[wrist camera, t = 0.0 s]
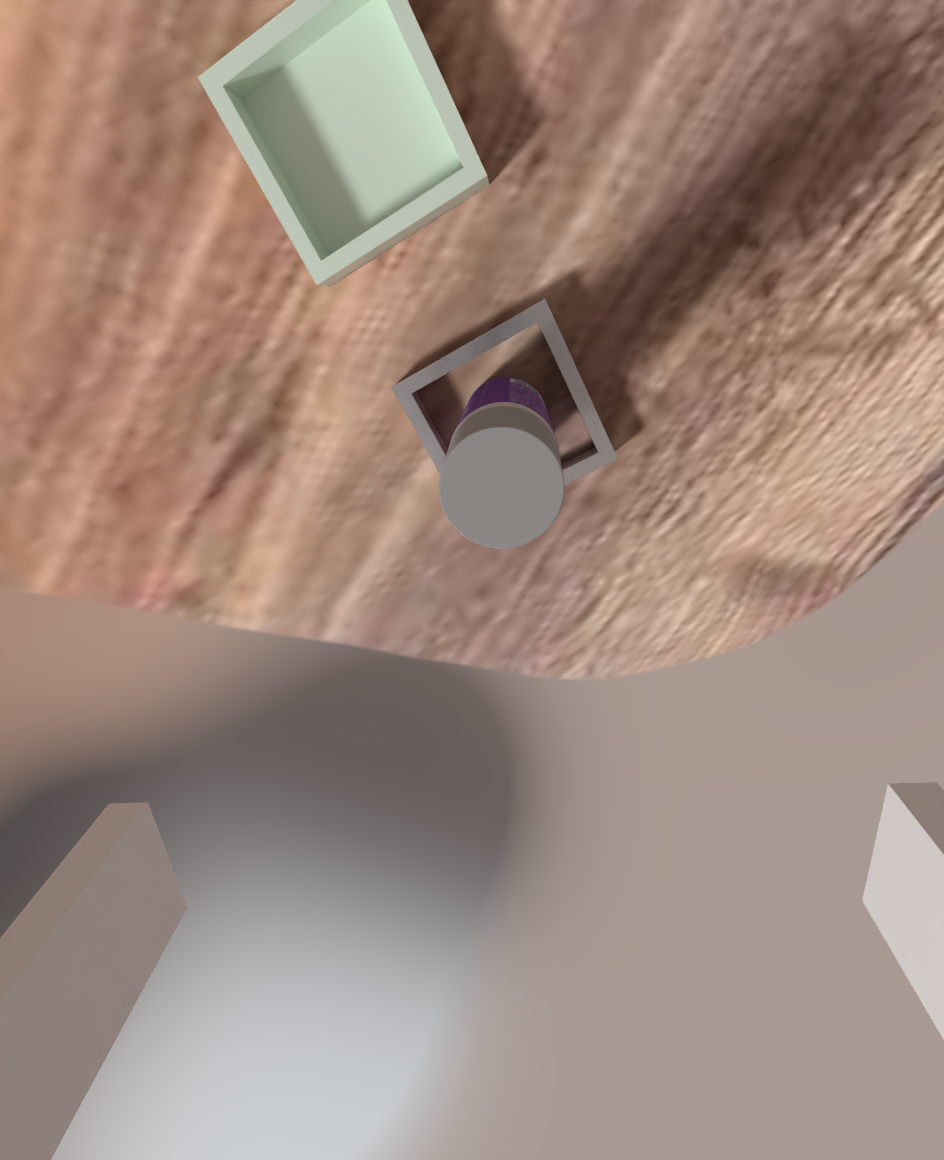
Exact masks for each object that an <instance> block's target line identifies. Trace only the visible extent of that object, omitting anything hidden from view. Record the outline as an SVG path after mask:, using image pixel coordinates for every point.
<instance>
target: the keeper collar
mask: <svg viewBox="0 0 944 1160" xmlns="http://www.w3.org/2000/svg"><path fill="white" fill-rule="evenodd" d="M537 322H538V324H539V327H540V329H541V331H542V333H543V335H544V337H545V340H546V342H547V344H548V346H549V348H550V350H551V352H552V355H553V357H554V359H555V361H556V363H557V365H558V368H559V370H560V372H561V374H562V376H563V378H564V381H565V383H566V385H567V387H568V389H569V391H570V393H571V396H572V398H573V400H574V402H575V404H576V406H577V409H578V411H579V413H580V415H581V417H582V419H583V421H584V424H585V426H586V428H587V430H588V432H589V434H590V437H591V439H592V441H593V443H594V445H595V447H594V448H592V449H590V450H588V451H586V452H584V453H582V454H580V455H578V456H576V457H574V458H572V459H570V460H568V461H566V462H564V463H562V464H561V465H562V471H563V476H564V485H565V484H567V483H569V482H571V481H573V480H575V479H577V478H579V477H582V476H584V475H586V474H588V473H590V472H592V471H594V470H596V469H598V468H600V467H602V466H604V465H606V464H608V463H610V462H612V461H614V460H616V459H618V458H617V456H616V454H615V451H614V449H613V447H612V445H611V443H610V440H609V438H608V436H607V434H606V431H605V429H604V427H603V425H602V423H601V420H600V418H599V416H598V414H597V412H596V409H595V407H594V405H593V403H592V401H591V398H590V396H589V394H588V392H587V390H586V387H585V385H584V383H583V381H582V379H581V376H580V374H579V372H578V370H577V368H576V365H575V363H574V361H573V359H572V357H571V354H570V352H569V350H568V348H567V346H566V343H565V341H564V339H563V337H562V335H561V332H560V330H559V328H558V326H557V324H556V321H555V319H554V317H553V315H552V312H551V310H550V308H549V306H548V304H547V301H546V299H543V300H541V301H539V302H537V303H536V304H534V305H532V306H531V307H529V308H527V309H525V310H524V311H522V312H520V313H518V314H517V315H515V316H513V317H511V318H510V319H508V320H506V321H504V322H503V323H501V324H499V325H498V326H496V327H494V328H492V329H491V330H489V331H487V332H485V333H484V334H482V335H480V336H478V337H477V338H475V339H473V340H471V341H470V342H468V343H466V344H465V345H463V346H461V347H459V348H458V349H456V350H454V351H452V352H451V353H449V354H447V355H445V356H444V357H442V358H440V359H439V360H437V361H435V362H433V363H432V364H430V365H428V366H426V367H425V368H423V369H421V370H419V371H418V372H416V373H414V374H412V375H411V376H409V377H407V378H406V379H404V380H402V381H400V382H399V383H397V384H395V385H394V386H392V387H391V388H392V390H393V391H394V393H395V395H396V397H397V399H398V400H399V402H400V404H401V406H402V407H403V409H404V411H405V413H406V415H407V416H408V418H409V420H410V422H411V423H412V425H413V427H414V429H415V430H416V432H417V434H418V436H419V438H420V439H421V441H422V443H423V445H424V446H425V448H426V450H427V452H428V454H429V455H430V457H431V459H432V461H433V462H434V464H435V466H436V468H437V470H438V471H439V473H440V474H441V470H442V467H443V464H444V460H445V457H446V454H447V451H448V449H447V447H446V445H445V443H444V441H443V440H442V438H441V436H440V434H439V432H438V431H437V429H436V427H435V425H434V423H433V421H432V420H431V418H430V416H429V414H428V412H427V411H426V409H425V407H424V405H423V403H422V402H421V400H420V398H419V396H418V394H417V392H416V391H417V390H419V389H420V388H422V387H424V386H426V385H427V384H429V383H431V382H433V381H434V380H436V379H438V378H440V377H441V376H443V375H445V374H447V373H448V372H450V371H452V370H454V369H456V368H457V367H459V366H461V365H463V364H464V363H466V362H468V361H470V360H471V359H473V358H475V357H477V356H478V355H480V354H482V353H484V352H485V351H487V350H489V349H491V348H492V347H494V346H496V345H498V344H500V343H501V342H503V341H505V340H507V339H508V338H510V337H512V336H514V335H515V334H517V333H519V332H521V331H522V330H524V329H526V328H528V327H529V326H531V325H533V324H535V323H537Z"/></svg>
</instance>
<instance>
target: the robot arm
mask: <svg viewBox="0 0 944 1160" xmlns="http://www.w3.org/2000/svg"><path fill="white" fill-rule="evenodd" d="M863 903H864V904H865V906H866V908H867V909H868V911H869V913H870V915H871V916H872V918H873V919H874V921H875V923H876V925H877V926H878V928H879V930H880V932H881V933H882V935H883V937H884V939H885V940H886V942H887V944H888V945H889V947H890V949H891V950H892V952H893V954H894V956H895V957H896V959H897V961H898V962H899V964H900V966H901V967H902V969H903V971H904V973H905V974H906V976H907V978H908V980H909V981H910V983H911V984H912V986H913V988H914V990H915V991H916V993H917V995H918V996H919V998H920V1000H921V1002H922V1004H923V1005H924V1007H925V1009H926V1010H927V1012H928V1014H929V1015H930V1017H931V1019H932V1021H933V1022H934V1024H935V1026H936V1027H937V1029H938V1031H939V1033H940V1034H941V1036H942V1038H943V1039H944V790H943V789H942V788H941V787H940V786H939V785H938V783H935V782H933V783H897V784H896V783H894V784H888V787H887V791H886V796H885V800H884V805H883V809H882V815H881V819H880V823H879V828H878V833H877V837H876V841H875V846H874V850H873V855H872V859H871V864H870V869H869V874H868V878H867V883H866V887H865V891H864V896H863ZM186 908H187V906H186V903H185V900H184V898H183V895H182V892H181V890H180V887H179V884H178V882H177V879H176V876H175V874H174V871H173V868H172V866H171V863H170V860H169V858H168V855H167V853H166V850H165V847H164V845H163V842H162V839H161V837H160V834H159V831H158V829H157V826H156V823H155V820H154V818H153V815H152V813H151V810H150V807H149V804H148V803H120V804H119V803H117V804H109V805H108V806H107V807H106V808H105V809H104V811H103V812H102V813H101V814H100V816H99V817H98V818H97V819H96V821H95V822H94V823H93V824H92V826H91V827H90V828H89V829H88V830H87V832H86V833H85V834H84V835H83V837H82V838H81V839H80V840H79V842H78V843H77V844H76V845H75V847H74V848H73V849H72V850H71V852H70V853H69V854H68V855H67V856H66V858H65V859H64V860H63V861H62V863H61V864H60V865H59V866H58V868H57V869H56V870H55V871H54V873H53V874H52V875H51V876H50V877H49V879H48V880H47V881H46V882H45V884H44V885H43V886H42V887H41V889H40V890H39V891H38V892H37V894H36V895H35V896H34V897H33V898H32V900H31V901H30V902H29V903H28V905H27V906H26V907H25V909H24V910H23V911H22V912H21V913H20V915H19V916H18V917H17V918H16V920H15V921H14V922H13V923H12V924H11V926H10V927H9V928H8V929H7V931H6V932H5V933H4V935H3V936H2V937H1V938H0V1160H51V1158H52V1156H53V1154H54V1152H55V1151H56V1149H57V1147H58V1145H59V1143H60V1141H61V1139H62V1138H63V1136H64V1134H65V1132H66V1130H67V1128H68V1127H69V1124H70V1123H71V1121H72V1119H73V1117H74V1115H75V1114H76V1112H77V1110H78V1108H79V1106H80V1104H81V1102H82V1100H83V1099H84V1097H85V1095H86V1093H87V1091H88V1090H89V1087H90V1086H91V1084H92V1082H93V1080H94V1078H95V1077H96V1075H97V1073H98V1071H99V1069H100V1067H101V1066H102V1064H103V1062H104V1060H105V1058H106V1056H107V1055H108V1053H109V1051H110V1049H111V1047H112V1045H113V1043H114V1042H115V1040H116V1038H117V1036H118V1034H119V1032H120V1030H121V1029H122V1027H123V1025H124V1023H125V1021H126V1019H127V1018H128V1016H129V1014H130V1012H131V1010H132V1008H133V1006H134V1004H135V1003H136V1001H137V999H138V997H139V995H140V993H141V992H142V990H143V988H144V986H145V984H146V982H147V981H148V978H149V977H150V975H151V973H152V971H153V969H154V968H155V966H156V964H157V962H158V960H159V958H160V957H161V954H162V953H163V951H164V949H165V947H166V945H167V944H168V942H169V940H170V938H171V936H172V934H173V932H174V931H175V929H176V927H177V925H178V923H179V921H180V920H181V918H182V916H183V914H184V912H185V910H186Z"/></svg>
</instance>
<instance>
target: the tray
mask: <svg viewBox="0 0 944 1160" xmlns="http://www.w3.org/2000/svg"><path fill="white" fill-rule="evenodd" d="M198 79H199V80H200V82H201V84H202V86H203V87H204V89H205V91H206V93H207V94H208V96H209V98H210V100H211V101H212V103H213V105H214V107H215V108H216V110H217V112H218V114H219V115H220V117H221V119H222V121H223V122H224V124H225V126H226V128H227V129H228V131H229V133H230V135H231V136H232V138H233V140H234V142H235V143H236V145H237V147H238V149H239V150H240V152H241V154H242V156H243V157H244V159H245V161H246V163H247V164H248V166H249V168H250V170H251V171H252V173H253V175H254V177H255V178H256V180H257V182H258V183H259V185H260V187H261V189H262V190H263V192H264V194H265V196H266V197H267V199H268V201H269V203H270V204H271V206H272V208H273V210H274V211H275V213H276V215H277V217H278V218H279V220H280V222H281V224H282V225H283V227H284V229H285V231H286V232H287V234H288V236H289V238H290V239H291V241H292V243H293V245H294V246H295V248H296V250H297V252H298V253H299V255H300V257H301V259H302V260H303V262H304V264H305V266H306V267H307V269H308V271H309V273H310V274H311V276H312V278H313V280H314V281H315V283H316V285H319V286H332V285H333V284H335V283H336V282H338V281H340V280H341V279H343V278H344V277H346V276H347V275H349V274H351V273H352V272H354V271H355V270H357V269H358V268H360V267H362V266H363V265H365V264H366V263H368V262H369V261H371V260H372V259H374V258H376V257H377V256H379V255H380V254H382V253H383V252H385V251H387V250H388V249H390V248H391V247H393V246H394V245H396V244H398V243H399V242H401V241H402V240H404V239H405V238H407V237H409V236H410V235H412V234H413V233H415V232H416V231H418V230H419V229H421V228H423V227H424V226H426V225H427V224H429V223H430V222H432V221H434V220H435V219H437V218H438V217H440V216H441V215H443V214H445V213H446V212H448V211H449V210H451V209H452V208H454V207H455V206H457V205H459V204H460V203H462V202H463V201H465V200H466V199H468V198H470V197H471V196H473V195H474V194H476V193H477V192H479V191H481V190H482V189H484V188H485V187H487V186H488V185H489V182H488V177H487V174H486V172H485V170H484V167H483V165H482V163H481V161H480V159H479V156H478V154H477V152H476V150H475V148H474V145H473V143H472V141H471V139H470V137H469V134H468V132H467V130H466V128H465V126H464V123H463V121H462V119H461V117H460V115H459V112H458V110H457V108H456V106H455V104H454V101H453V99H452V97H451V95H450V93H449V90H448V88H447V86H446V84H445V82H444V79H443V77H442V75H441V73H440V71H439V68H438V66H437V64H436V62H435V60H434V57H433V55H432V53H431V51H430V49H429V46H428V44H427V42H426V40H425V38H424V35H423V33H422V31H421V29H420V27H419V24H418V22H417V20H416V18H415V16H414V13H413V11H412V9H411V7H410V5H409V2H408V0H296V1H295V2H293V3H292V4H291V5H289V6H288V7H287V8H286V9H284V10H283V11H282V12H280V13H279V14H278V15H277V16H275V17H274V18H273V19H272V20H270V21H269V22H268V23H266V24H265V25H264V26H263V27H261V28H260V29H259V30H257V31H256V32H255V33H254V34H252V35H251V36H250V37H249V38H247V39H246V40H245V41H243V42H242V43H241V44H240V45H238V46H237V47H236V48H234V49H233V50H232V51H231V52H229V53H228V54H227V55H226V56H224V57H223V58H222V59H220V60H219V61H218V62H217V63H215V64H214V65H213V66H211V67H210V68H209V69H208V70H206V71H205V72H204V73H203V74H201V75H200V76H199V77H198Z"/></svg>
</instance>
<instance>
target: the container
mask: <svg viewBox="0 0 944 1160" xmlns="http://www.w3.org/2000/svg"><path fill="white" fill-rule="evenodd" d="M564 488H565V485H564V476H563V471H562V465H561V460H560V454H559V447H558V443H557V439H556V436H555V433H554V430H553V427H552V424H551V421H550V418H549V414H548V411H547V408H546V405H545V402H544V400H543V398H542V396H541V395H540V393H539V392H538V391H537V390H536V388H534V387H533V386H532V385H531V384H530V383H528V382H526V381H525V380H522V379H520V378H517V377H511V376H502V377H497V378H493V379H491V380H489V381H487V382H485V383H484V384H482V385H481V386H480V387H479V388H478V389H477V390H476V391H475V392H474V393H473V395H472V396H471V398H470V400H469V402H468V404H467V406H466V408H465V410H464V412H463V414H462V417H461V419H460V421H459V423H458V425H457V427H456V429H455V431H454V434H453V436H452V438H451V442H450V445H449V448H448V451H447V454H446V457H445V460H444V464H443V467H442V470H441V474H440V479H439V496H440V501H441V505H442V508H443V510H444V512H445V515H446V516H447V518H448V520H449V521H450V523H451V524H452V525H453V526H454V528H455V529H456V530H457V531H458V532H459V533H461V534H462V535H463V536H464V537H466V538H467V539H469V540H471V541H473V542H475V543H477V544H480V545H483V546H486V547H491V548H512V547H517V546H521V545H523V544H526V543H528V542H530V541H532V540H534V539H536V538H537V537H539V536H540V535H541V534H543V533H544V532H545V531H546V530H547V529H548V528H549V527H550V526H551V524H552V523H553V522H554V520H555V519H556V517H557V515H558V513H559V511H560V509H561V506H562V502H563V498H564Z"/></svg>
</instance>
